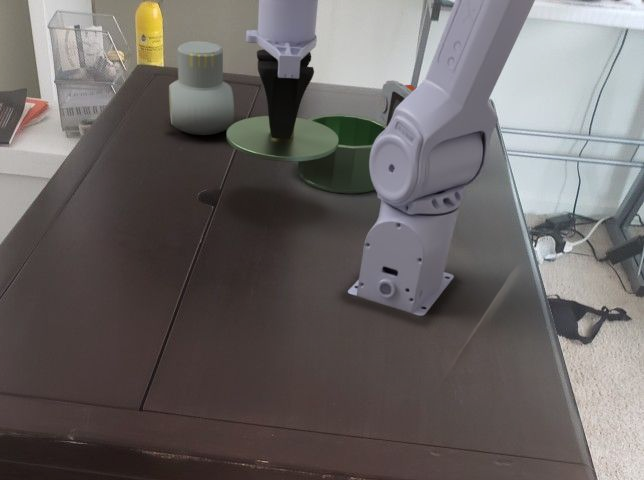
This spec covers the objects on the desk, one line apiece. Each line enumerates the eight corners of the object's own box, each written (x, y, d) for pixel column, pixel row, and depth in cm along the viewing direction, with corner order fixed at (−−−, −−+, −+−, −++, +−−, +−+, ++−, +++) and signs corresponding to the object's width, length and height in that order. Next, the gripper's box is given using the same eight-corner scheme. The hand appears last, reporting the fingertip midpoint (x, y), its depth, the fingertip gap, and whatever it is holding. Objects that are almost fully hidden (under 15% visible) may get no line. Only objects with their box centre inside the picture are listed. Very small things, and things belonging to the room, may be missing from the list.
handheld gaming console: (371, 137, 104) (380, 73, 99) (390, 135, 105) (400, 72, 100) (416, 177, 95) (429, 110, 89) (437, 176, 96) (451, 109, 90)
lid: (314, 176, 76) (320, 123, 72) (207, 153, 79) (207, 101, 75) (351, 138, 84) (358, 89, 80) (253, 118, 87) (255, 70, 83)
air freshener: (235, 143, 100) (236, 60, 93) (173, 143, 99) (170, 59, 92) (226, 115, 108) (227, 36, 101) (169, 115, 107) (166, 34, 99)
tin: (364, 201, 89) (371, 154, 85) (282, 179, 93) (285, 133, 89) (399, 171, 96) (406, 127, 92) (321, 151, 100) (325, 108, 96)
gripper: (246, -37, 76) (243, 107, 85) (248, -4, 65) (243, 156, 75) (315, -33, 76) (304, 110, 86) (328, 1, 66) (313, 159, 76)
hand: (280, 132), depth 80 cm, fingers closed on lid, 2 cm apart
